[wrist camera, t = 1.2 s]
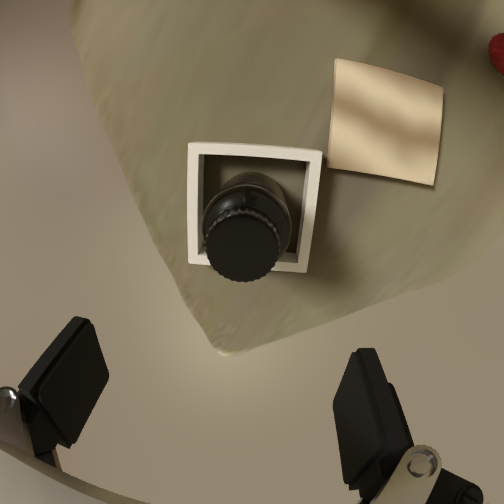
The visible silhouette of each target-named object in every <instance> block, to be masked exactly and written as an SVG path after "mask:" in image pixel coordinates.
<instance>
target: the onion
mask: <svg viewBox="0 0 504 504" xmlns="http://www.w3.org/2000/svg"><path fill="white" fill-rule="evenodd" d="M488 52H489V56H490V59H491V61H492V63H493V65H494V66H495V67H496V69H497V70H498V71H499V72H500V73H502V74H503V75H504V33H499V34H497V35H495V36H493V37H492V39H491V41H490V43H489V50H488Z"/></svg>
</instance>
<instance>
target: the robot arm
mask: <svg viewBox="0 0 504 504" xmlns="http://www.w3.org/2000/svg"><path fill="white" fill-rule="evenodd" d="M108 379H109V372H108V369H107V366H106V363H105V360H104V357H103V354H102V351H101V348H100V345H99V342H98V339H97V335H96V332H95V328H94V325H93V324H91V322H90V320H89V319H86V318H81V317H78V316H75V317H73V318H72V319H71V321H70V322H69V323H68V324H67V325H66V327H65V328H64V329H63V330H62V331H61V332H60V333H59V335H58V336H57V337H56V338H55V340H54V341H53V342H52V343H51V345H50V346H49V347H48V348H47V349H46V351H45V352H44V353H43V354H42V355H41V357H40V358H39V359H38V361H37V362H36V363H35V364H34V366H33V367H32V368H31V370H30V371H29V372H28V374H27V375H26V376H25V378H24V379H23V380H22V381H21V383H20V384H19V386H18V388H19V391H18V392H17V391H16V390H15V389H14V388H12V387H7V386H6V387H1V388H0V504H149V503H145V502H141V501H138V500H135V499H132V498H128V497H125V496H122V495H119V494H116V493H113V492H110V491H108V490H105V489H102V488H100V487H97V486H95V485H92V484H89V483H87V482H85V481H82V480H80V479H78V478H75V477H73V476H71V475H69V474H67V473H65V472H63V471H62V469H61V465H60V462H59V459H58V455H57V451H56V448H55V447H56V445H57V444H60V445H62V446H64V447H66V448H69V449H70V447H71V445H72V444H74V443H76V441H77V439H78V437H79V435H80V433H81V431H82V429H83V427H84V425H85V423H86V422H87V419H88V417H89V416H90V414H91V412H92V410H93V408H94V406H95V404H96V402H97V400H98V398H99V396H100V394H101V393H102V391H103V389H104V387H105V385H106V384H107V382H108ZM333 412H334V418H335V424H336V430H337V437H338V443H339V451H340V458H341V465H342V473H343V480H344V483H345V484H349V490H357V489H359V494H360V497H361V499H360V500H359V501H358V503H357V504H483V493H482V490H481V489H480V488H479V487H478V486H477V485H475V484H474V483H471V482H469V481H467V480H465V479H463V478H461V477H459V476H457V475H455V474H453V473H451V472H449V471H447V470H445V469H443V468H441V466H442V463H441V458H440V456H439V454H438V453H437V451H436V450H435V449H433V448H431V447H429V446H426V445H416V446H414V443H413V440H412V437H411V434H410V431H409V428H408V425H407V422H406V419H405V416H404V413H403V410H402V407H401V404H400V402H399V399H398V397H397V394H396V391H395V388H394V386H393V385H392V384H391V383H388V381H387V379H386V376H385V374H384V371H383V368H382V365H381V363H380V360H379V358H378V355H377V353H376V350H375V349H374V348H359V349H357V351H356V352H352V354H351V356H350V359H349V362H348V364H347V367H346V370H345V372H344V375H343V377H342V380H341V383H340V385H339V388H338V390H337V392H336V395H335V397H334V400H333ZM487 504H488V503H487Z"/></svg>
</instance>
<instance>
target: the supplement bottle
mask: <svg viewBox="0 0 504 504" xmlns="http://www.w3.org/2000/svg"><path fill="white" fill-rule="evenodd" d="M201 231H202V238H203V241H204V244H205V247H206V250H205V252H206V254H207V259H208V260H209V261H210V265H212V266H213V268H214V270H216V271H217V272H218V273H219V274H220V275H222V276H224V277H225V278H228V279H230V280H231V281H237V282H248V281H254V280H256V279H260V278H261V277H263V276H265V275H266V274H267V273H269V272H270V271H271V269H272V268H273V267H274V266H275V263H276V262H277V261H278V260H279V259H280V258H281V256H282V255H283V254H284V253H285V251H286V249H287V247H288V245H289V243H290V239H291V233H292V225H291V218H290V214H289V210H288V207H287V203H286V199H285V196H284V193H283V191H282V189H281V188H280V186H279V185H278V184H277V183H276V182H275V181H274V180H273V179H272V178H270V177H269V176H267V175H264V174H262V173H258V172H245V173H241V174H238V175H236V176H234V177H232V178H231V179H229V180H228V181H227V182H226V183H225V184H224V185H223V187H222V188H221V189H220V190H219V191H218V193H217V194H216V195H215V196H214V197H213V199H212V200H211V201H210V203H209V204H208V206H207V208H206V210H205V212H204V215H203V218H202V224H201Z"/></svg>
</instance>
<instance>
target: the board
mask: <svg viewBox="0 0 504 504" xmlns="http://www.w3.org/2000/svg"><path fill="white" fill-rule="evenodd" d="M442 105H443V88H442V87H440V86H437V85H434V84H432V83H429V82H426V81H423V80H420V79H417V78H414V77H411V76H408V75H405V74H401V73H398V72H394V71H391V70H387V69H383V68H379V67H375V66H371V65H367V64H363V63H358V62H353V61H349V60H343V59H338V58H337V59H336V60H335V65H334V83H333V98H332V112H331V124H330V135H329V146H328V155H327V165H326V166H327V167H328V168H336V169H343V170H350V171H357V172H363V173H370V174H376V175H382V176H387V177H393V178H398V179H403V180H409V181H414V182H418V183H423V184H428V185H432V186H433V183H434V178H435V171H436V165H437V158H438V150H439V141H440V132H441V120H442Z"/></svg>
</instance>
